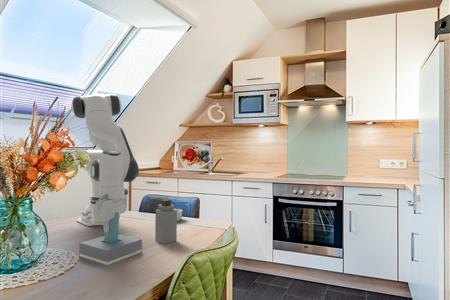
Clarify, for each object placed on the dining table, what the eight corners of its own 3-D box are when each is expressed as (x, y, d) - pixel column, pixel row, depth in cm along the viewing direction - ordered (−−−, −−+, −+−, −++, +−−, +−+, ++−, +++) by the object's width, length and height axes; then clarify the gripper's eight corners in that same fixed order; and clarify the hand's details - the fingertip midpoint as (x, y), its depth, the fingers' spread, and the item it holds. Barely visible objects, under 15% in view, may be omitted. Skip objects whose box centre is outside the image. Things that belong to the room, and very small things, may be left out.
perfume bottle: (155, 240, 136) (155, 199, 135) (168, 237, 140) (169, 198, 140) (162, 244, 130) (163, 201, 130) (176, 241, 135) (176, 200, 135)
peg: (104, 243, 118) (104, 212, 118) (114, 241, 120) (114, 210, 120) (107, 246, 115) (108, 214, 115) (118, 244, 117) (118, 212, 117)
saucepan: (183, 214, 188) (183, 205, 188) (182, 222, 168) (182, 212, 168) (163, 215, 186) (164, 205, 186) (160, 223, 166) (160, 212, 166)
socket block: (79, 256, 115) (79, 242, 115) (114, 244, 129) (114, 232, 129) (107, 265, 107) (107, 250, 107) (141, 251, 120) (142, 239, 120)
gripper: (106, 197, 107) (106, 237, 107) (129, 189, 127) (129, 223, 127) (89, 197, 107) (89, 236, 107) (115, 189, 128) (114, 222, 128)
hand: (111, 229), depth 117 cm, fingers closed on peg, 6 cm apart
